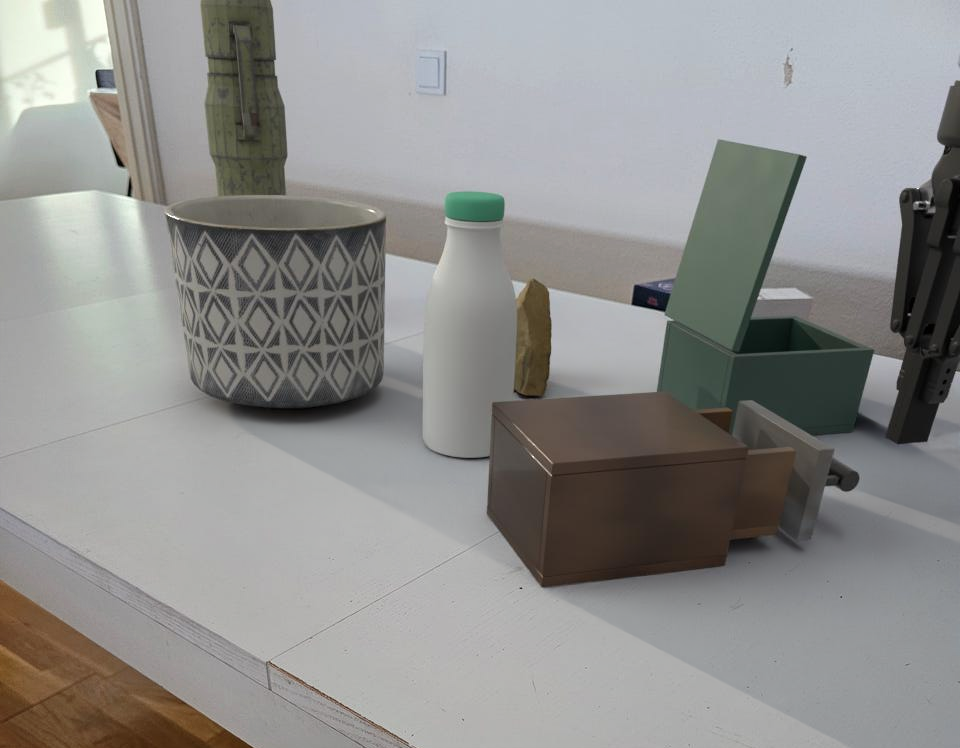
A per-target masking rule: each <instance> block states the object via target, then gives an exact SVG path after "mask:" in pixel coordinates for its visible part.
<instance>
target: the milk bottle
mask: <svg viewBox="0 0 960 748" xmlns="http://www.w3.org/2000/svg"><path fill="white" fill-rule="evenodd" d="M505 202H506V201H505V197H504V196H502V195H501V194H498V193H493V192H486V191H467V190H466V191H465V190H462V191H452V192H449V193H446V195H445V199H444V215H445V219H444V225H446V227H447V233H446V239H445V243H444V247H443V250H442V254H441V257H440V259H439V262H438V265H437V267H436V269H435V271H434V273H433V276H432V278H431V280H430V283H429V286H428V289H427V294H426V298H425V305H424V316H423V317H424V319H423V320H424V321H423V324H424V325H423V351H422V352H423V354H422V355H423V356H422V357H423V358H422V439H423V442H424V444H425V446H426V447H428V448H429V450H432V451H433V452H435V453H438V454H441V455H445V456H448V457H452V458H453V457H454V458H463V459H464V458H467V459H474V458H475V459H476V458H485V457H490V440H491V420H492V414H493V413H492V403H493V402H504V401H514V391H515V389H514V375H515V357H516V337H517V303H516V299H517V297H516V291H515V288H514V287H515V286H514V284H513V281H512V278H511V275H510V272H509V270H508V267H507V264H506V261H505V257H504V253H503V248H502V243H501V229H502V228H504V217H505V205H506V204H505Z"/></svg>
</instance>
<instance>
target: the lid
mask: <svg viewBox="0 0 960 748" xmlns="http://www.w3.org/2000/svg"><path fill="white" fill-rule="evenodd" d="M713 150H714V151H713V154H712V156H711V160H710V164H709V167H708V171H707V173H706V177H705V180H704V184H703V186H702V190H701V193H700V197H699V200H698V203H697V206H696V210H695V213H694V217H693V220H692V222H691V226H690V229H689V232H688V235H687V239H686V243H685V246H684V248H683V253H682V256H681V258H680V263H679V266H678V269H677V272H676V275H675V278H674V282H673V285H672V288H671V292H670V295H669V299H668V302H667V304H666V308H665V312H664V316H665V317H667V318H669V319H671V320H672V321H674V320H675V321H676V322H678V323H680V324H682V325H684V326H686V327H688V328H690V329H691V330H693V331H695V332H697V333H699V334H701V335H703V336H705V337H707V338H708V339H710V340H712V341H714V342H716V343H718V344H720V345H722V346H724V347H725V348H727V349H729V350H731V351H735V352H739V350H740V347H741V345H742V342H743V339H744V336H745V333H746V330H747V327H748V325H749V322H750V319H751V317H753V313H754V310H755V307H756V305H757V301H758V299H759V296H760V293H761V290H762V287H763V284H764V282H765V278H766V276H767V274H768V273H767V272H768V270H769V267H770V264H771V261H772V258H773V255H774V252H775V250H776V247H777V244H778V241H779V239H780V236H781V233H782V229H783V227H784V224H785V221H786V219H787V215H788V212H789V210H790V207H791V204H792V201H793V199H794V195H795V192H796V190H797V186H798V183H799V181H800V178H801V175H802V174H803V173H802V172H803V169H804V166H805V163H806V161H807V155H803V154H799V153H794V152H788V151H784V150H778V149H774V148H773V149H771V148H767V147H761V146H755V145H750V144H746V143H742V142H741V143H740V142H735V141H731V140H730V141H729V140H724V139H720V138H719V139H717V140H716V144H715V148H714V149H713Z"/></svg>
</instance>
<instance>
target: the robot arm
mask: <svg viewBox="0 0 960 748" xmlns="http://www.w3.org/2000/svg"><path fill="white" fill-rule="evenodd" d="M956 65H957V66H958V68H959V69H960V54H959V55H958V58H957V62H956ZM936 140H937V142H938V143H939V144H940V145H942V146H944V148H943V152H942V154H941V156H940V158H939V160H938V161H937V163H936V164H935V165H934V168H933V170H932V172H931V177H930V179H929V180H927V181H925V182H924V183H923V184H921V185H920V186H919V187H906V188H904V189H902V190H901V192H900V194H899V196H898V197H899V198H898V202H899V210H900V218H901V219H900V220H901V229H900V230H901V231H900V239H899V245H898V246H899V247H898V254H897V255H898V256H897V264H896V273H895V282H894V290H893V296H892V297H893V298H892V306H891V315H890V322H889V325H890V326H889V329H890V331H891V332H892V333H894V334H899V336H901V337H902V339H903V345H904V347H905V352H904V355H903V359H902V361H901V365H900V370H899V373H898V376H897V380H896V389H895V390H896V391H898V393H897V395H896V398H895V402H894V405H893V408H892V412H891V415H890V419H889V422H888V426H887V430H886V433H885V436H884V438H885V439H887V440H889V441H891V442H893V443H895V444H897V445H904V444H905V445H906V444H919V443H928V441H929V437H930V436H931V435H930V434H931V431H932V428H933V425H934V422H935V419H936V416H937V413H938V410H939V406H940V404H944V403H945V402H946V400H947V398H948V396H949V393H950V391H951V387H952V384H953V382H954V378H955V376H956V372H957V369H958V367H959V364H960V80H959V79H957V80H955V81H954V84H953V85H950V86H949V89H948V92H947V97H946V99H945V104H944V107H943V110H942V114H941V119H940V121H939V125H938V129H937V132H936Z"/></svg>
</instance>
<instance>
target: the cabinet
mask: <svg viewBox="0 0 960 748" xmlns="http://www.w3.org/2000/svg"><path fill="white" fill-rule="evenodd" d="M492 413H493V414H492V420H491V440H490V456H489V459H488V461H489V463H488V479H487V480H488V481H487V501H486V515H487V516H488V518H489V519H490V520H491V522H492V523H493V525H495V528H496V529H497V530H498V531H499V532H500V534H501V535H502V536H503V539H505V540H506V542H507V544H509V546H510V547H511V548H512V550H513V551H514V552H515V554H516V556H517V557H518V558H519V559H520V561H521V562H522V564H523V565H524V566H525V567H526V568H527V570H528V571H529V573H530V575H532V577H533V578H534V579H535V580H536V582H537V583H538V585H539V586H540V587H541V588H550V587H559V586H567V585H576V584H583V583H591V582H592V583H593V582H599V581H600V582H601V581H609V580H615V579H624V578H632V577H640V576H649V575H657V574H665V573H672V572H673V573H674V572H681V571H689V570H697V569H704V568H713V567H720V566H722V567H723V566H725V565H726V561H727V555H728V551H729V547H730V542H731V540H730V537H731V532H732V528H733V523H734V518H735V513H736V508H737V504H738V499H739V494H740V489H741V484H742V480H743V475H744V470H745V465H746V460H747V459H746V458H747V455H748V450H749V447H748V446H746V445H745V444H743V443H742V442H740V441H739V440H737V439H736V438H734V437H733V436H731V435H730V434H728V433H727V432H725V431H724V430H722V429H721V428H719V427H718V426H716V425H715V424H713V423H712V422H710V421H709V420H707V419H706V418H704V417H703V416H702V415H700V414H699V413H697V412H696V411H694V410H693V409H691V408H690V407H688V406H687V405H685V404H684V403H682V402H681V401H679V400H678V399H676V398H675V397H673V396H672V395H670V394H669V393H667V392H665V391H664V392H657V391H652V392H651V391H650V392H633V393H618V394H601V395H586V396H585V395H584V396H570V397H555V398H540V399H539V398H537V399H522V400H520V399H519V400H513V401H504V402H493V403H492Z"/></svg>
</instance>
